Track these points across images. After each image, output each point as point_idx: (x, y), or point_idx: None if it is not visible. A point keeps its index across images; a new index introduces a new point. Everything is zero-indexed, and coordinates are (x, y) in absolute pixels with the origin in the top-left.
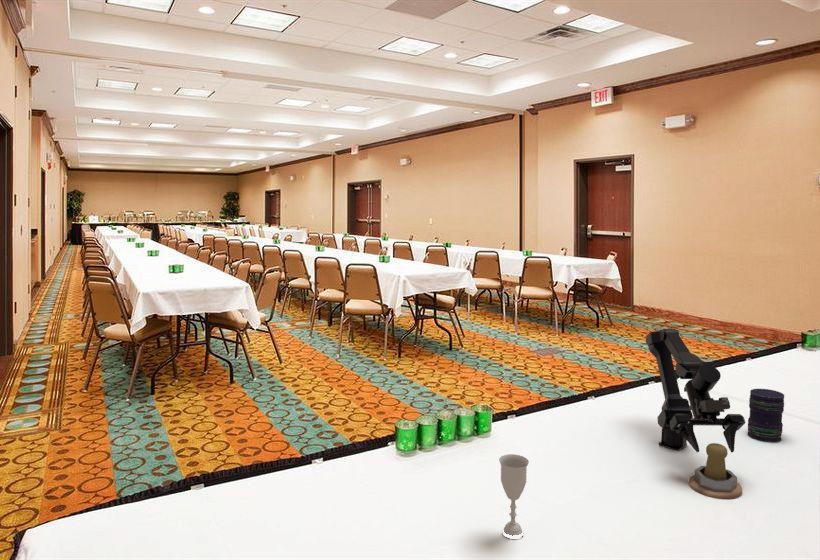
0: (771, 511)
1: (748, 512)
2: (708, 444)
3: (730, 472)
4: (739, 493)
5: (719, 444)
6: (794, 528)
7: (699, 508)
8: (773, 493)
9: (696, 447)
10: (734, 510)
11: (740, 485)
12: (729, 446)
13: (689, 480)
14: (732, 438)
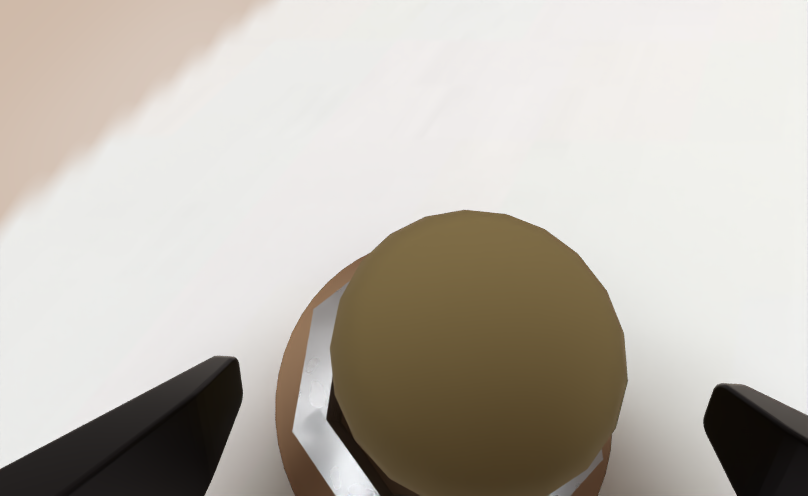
0: (295, 138)
1: (404, 132)
2: (595, 439)
3: (313, 394)
4: (354, 263)
5: (429, 349)
6: (300, 34)
7: (620, 165)
8: (136, 303)
9: (794, 409)
10: (459, 147)
11: (284, 358)
12: (198, 466)
13: (605, 452)
14: (41, 478)
